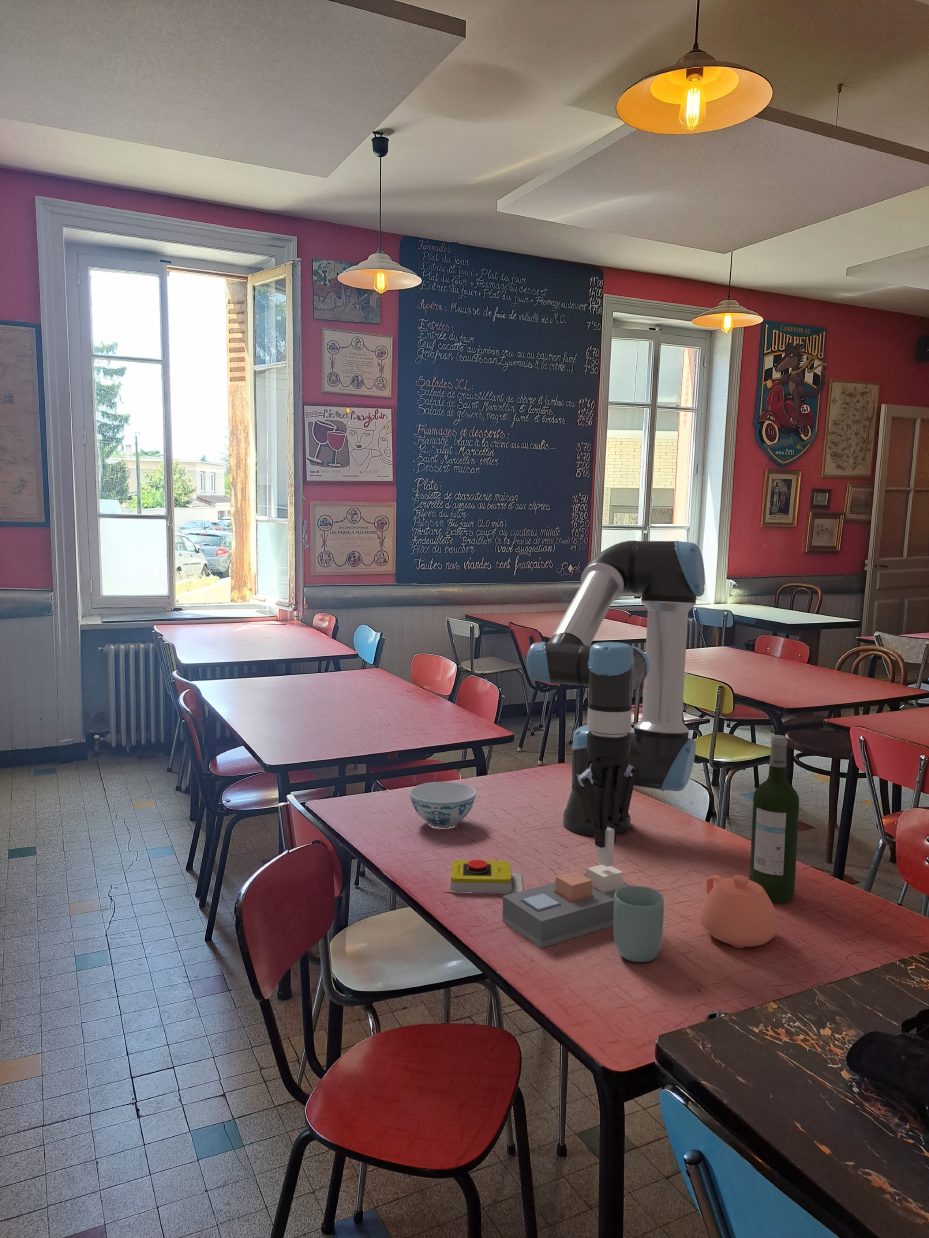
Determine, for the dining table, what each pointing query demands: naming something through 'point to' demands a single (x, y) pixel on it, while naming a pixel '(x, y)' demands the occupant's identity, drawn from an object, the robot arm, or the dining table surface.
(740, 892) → the sugar bowl
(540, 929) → the key panel
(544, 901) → the blue key
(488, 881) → the emergency button
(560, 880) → the orange key
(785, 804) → the wine bottle
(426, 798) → the chinaware
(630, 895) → the cup
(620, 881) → the ivory key
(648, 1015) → the dining table surface
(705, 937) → the dining table surface
